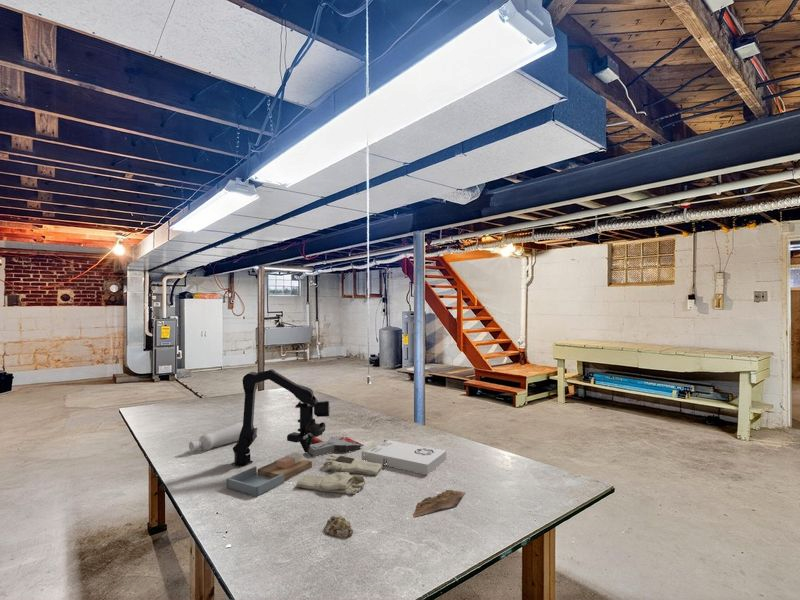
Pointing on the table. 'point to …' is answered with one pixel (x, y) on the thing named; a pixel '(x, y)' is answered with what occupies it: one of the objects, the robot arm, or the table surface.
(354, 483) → the pair of gloves
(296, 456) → the cream tile
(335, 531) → the mineral rock
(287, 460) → the terracotta tile
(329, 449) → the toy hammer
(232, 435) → the bottle
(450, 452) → the table surface
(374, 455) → the power supply unit
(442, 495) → the wooden fragment
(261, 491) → the tray
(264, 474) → the board
